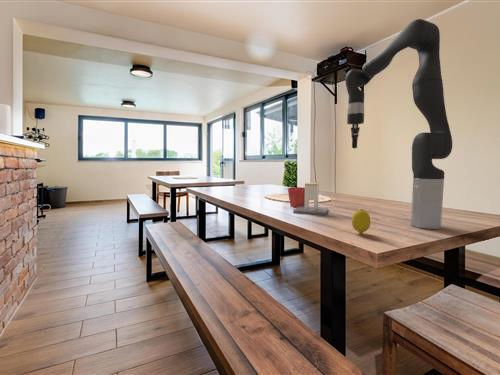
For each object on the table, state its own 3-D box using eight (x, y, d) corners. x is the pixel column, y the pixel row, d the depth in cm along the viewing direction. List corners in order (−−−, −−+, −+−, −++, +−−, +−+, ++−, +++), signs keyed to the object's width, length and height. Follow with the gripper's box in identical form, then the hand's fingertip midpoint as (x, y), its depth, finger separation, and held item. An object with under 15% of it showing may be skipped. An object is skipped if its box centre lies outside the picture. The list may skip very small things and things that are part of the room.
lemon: (348, 231, 91) (349, 207, 90) (364, 231, 91) (365, 207, 91) (356, 236, 85) (357, 210, 85) (373, 235, 86) (374, 210, 85)
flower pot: (284, 205, 149) (284, 187, 148) (302, 204, 152) (302, 186, 152) (293, 208, 139) (293, 189, 138) (312, 207, 142) (312, 188, 141)
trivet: (324, 215, 120) (325, 212, 120) (293, 213, 125) (293, 210, 125) (327, 210, 133) (327, 207, 133) (299, 208, 138) (299, 206, 138)
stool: (316, 210, 126) (317, 184, 125) (304, 209, 128) (304, 183, 127) (318, 208, 131) (318, 183, 130) (306, 207, 133) (306, 182, 132)
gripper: (347, 116, 140) (346, 148, 141) (347, 111, 127) (345, 147, 128) (363, 115, 137) (362, 148, 139) (364, 110, 124) (363, 146, 126)
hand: (354, 147), depth 134 cm, fingers open, 8 cm apart
